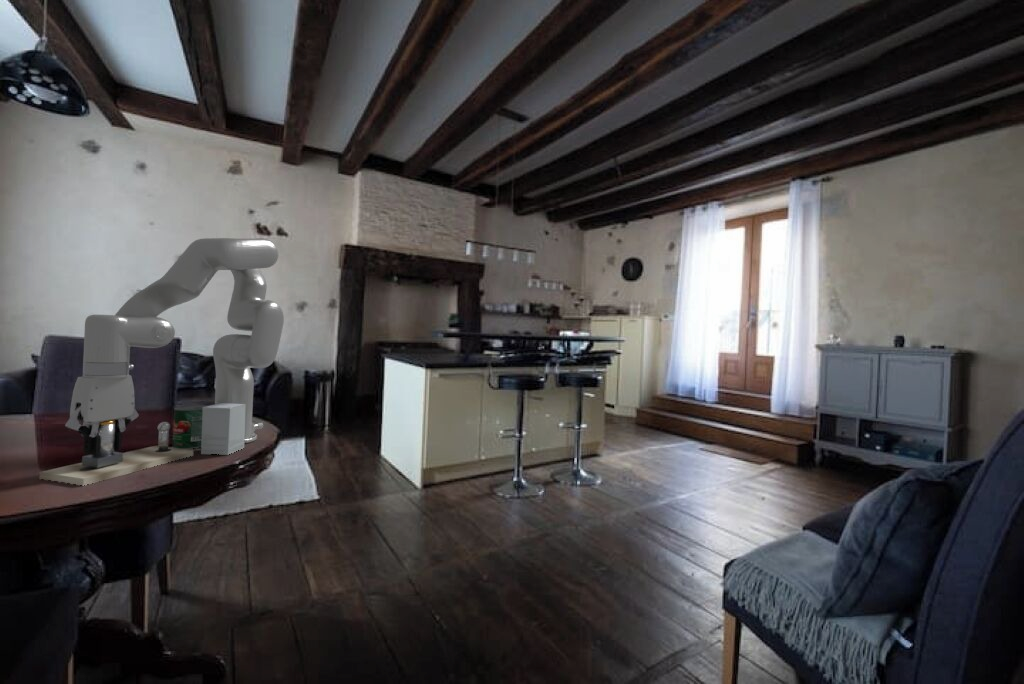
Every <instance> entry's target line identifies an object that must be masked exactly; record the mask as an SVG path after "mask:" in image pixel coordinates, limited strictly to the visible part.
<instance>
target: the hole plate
mask: <svg viewBox="0 0 1024 684" xmlns="http://www.w3.org/2000/svg"><path fill="white" fill-rule="evenodd" d="M122 453H123V462H119V463H115V464H111V465H107V466H103V467H99V468H95V467H88V466H82V462H79V463H74V464H70V465H65V466H61V467H60V466H59V467H57V468H52V469H48V470H43V471H39V480H41V479H44V480H43V481H48V480H51V481H50V482H54V481H58V482H57V483H61V482H65V483H64V484H67V483H70V484H69V485H73V484H76V485H75V486H80V485H82V486H81V487H85V486H88V485H87V484H89V485H92V483H93V484H96V483H99V481H100V482H104V481H106V480H110V479H114V478H118V477H121V476H125V475H129V474H133V473H136V472H139V471H143V469H144V470H147V469H150V468H153V467H154V466H155V467H158V466H161V464H162V465H165V464H168V462H169V463H172V462H171V461H173V462H176V461H179V459H180V460H184V459H187V458H190V456H191V457H193V456H194V449H181V448H173V447H172V446H168V450H167V451H158V445H153V446H152V445H151V446H149V447H148V446H147V447H144V448H139V449H135V450H130V451H126V452H122ZM186 457H187V458H186ZM183 458H184V459H183ZM175 460H176V461H175ZM157 465H158V466H157ZM146 468H147V469H146ZM103 480H104V481H103ZM84 485H85V486H84Z"/></svg>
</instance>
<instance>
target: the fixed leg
mask: <svg viewBox="0 0 1024 684" xmlns="http://www.w3.org/2000/svg"><path fill="white" fill-rule="evenodd" d="M171 428H172V427H171V423H169V422H168V421H162V422H160V423H158V425H157V430H158V445H157V446H158V451H167V450H168V447H169V442H170V441H169V438H170V434H169V433H170V430H171Z"/></svg>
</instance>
